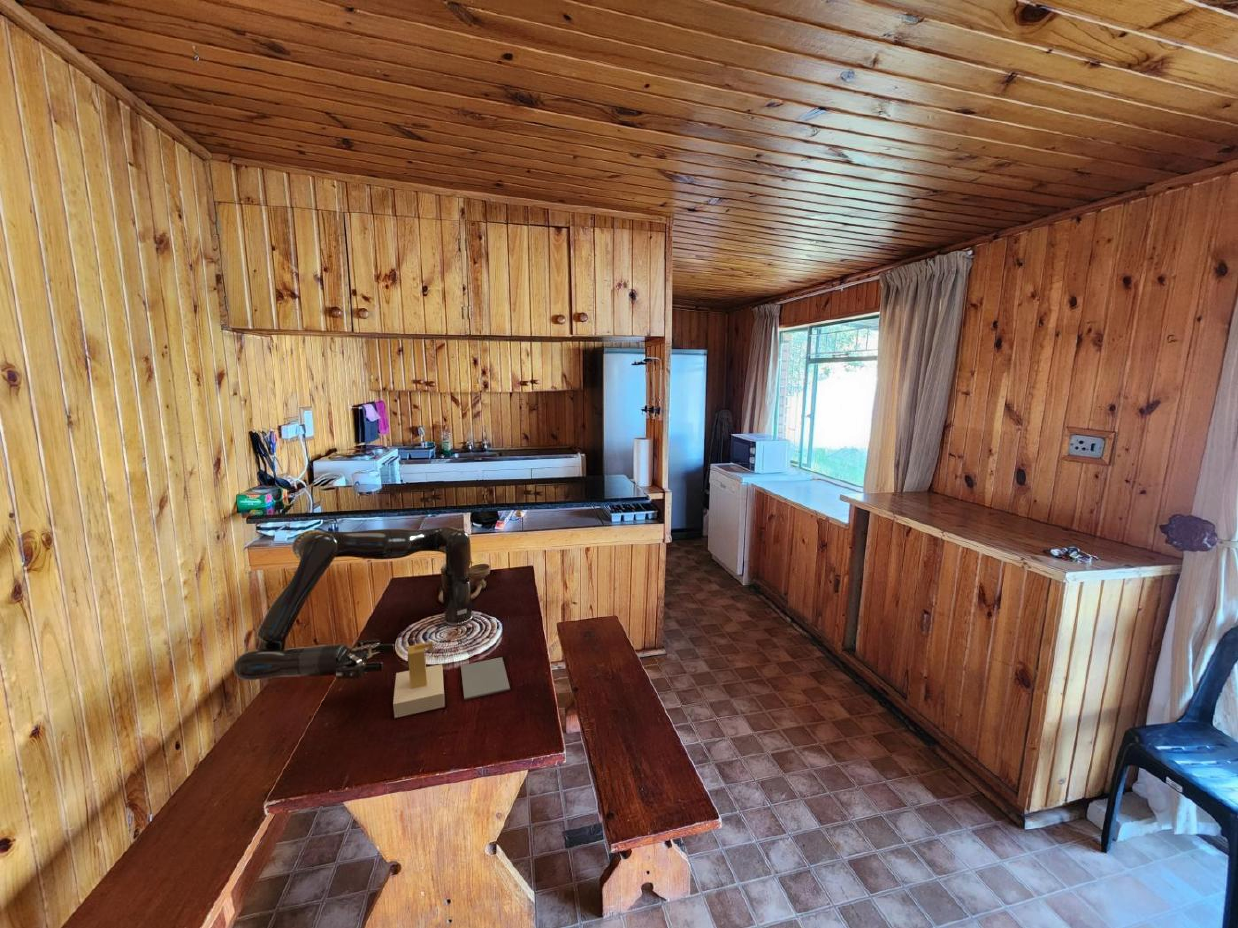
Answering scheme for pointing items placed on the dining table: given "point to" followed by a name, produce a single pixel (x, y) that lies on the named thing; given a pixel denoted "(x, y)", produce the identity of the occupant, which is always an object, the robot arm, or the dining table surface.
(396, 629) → the dining table surface
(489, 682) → the left mat
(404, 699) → the beige rectangular block
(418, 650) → the golden block with ridge
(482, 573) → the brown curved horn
